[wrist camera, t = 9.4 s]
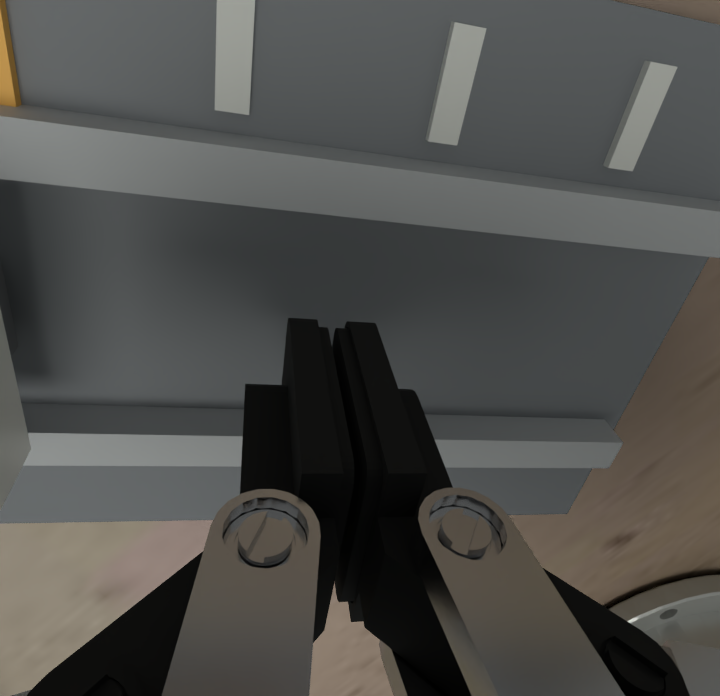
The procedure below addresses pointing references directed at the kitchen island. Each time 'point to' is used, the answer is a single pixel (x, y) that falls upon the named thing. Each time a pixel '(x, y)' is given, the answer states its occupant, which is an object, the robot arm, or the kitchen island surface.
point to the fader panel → (343, 228)
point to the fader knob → (9, 402)
